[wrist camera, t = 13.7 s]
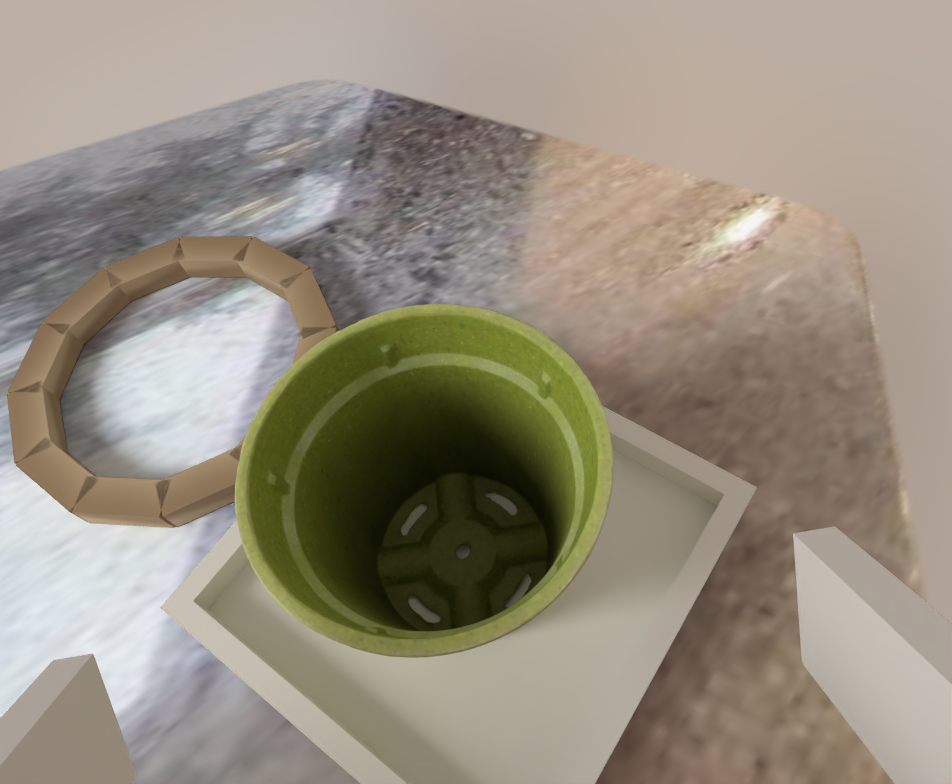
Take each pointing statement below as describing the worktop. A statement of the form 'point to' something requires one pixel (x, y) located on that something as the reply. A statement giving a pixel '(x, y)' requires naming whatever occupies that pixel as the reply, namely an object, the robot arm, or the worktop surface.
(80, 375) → the worktop surface
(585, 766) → the grey tray
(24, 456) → the oak ring
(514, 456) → the plant pot
